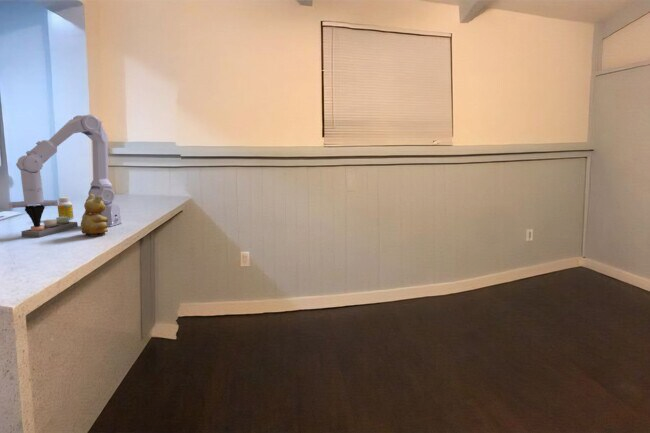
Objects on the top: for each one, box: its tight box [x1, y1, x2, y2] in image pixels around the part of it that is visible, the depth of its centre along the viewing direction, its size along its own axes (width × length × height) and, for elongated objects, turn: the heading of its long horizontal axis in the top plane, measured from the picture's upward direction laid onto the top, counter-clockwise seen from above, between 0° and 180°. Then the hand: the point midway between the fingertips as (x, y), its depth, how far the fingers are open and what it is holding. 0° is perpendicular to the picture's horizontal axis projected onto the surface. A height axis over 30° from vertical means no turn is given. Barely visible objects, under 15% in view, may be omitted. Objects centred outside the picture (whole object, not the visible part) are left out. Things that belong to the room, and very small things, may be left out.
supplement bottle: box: [57, 196, 74, 221], centre depth 174 cm, size 5×5×10 cm
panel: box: [20, 221, 79, 238], centre depth 151 cm, size 7×19×2 cm, turn 173°
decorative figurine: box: [80, 194, 109, 237], centre depth 144 cm, size 10×8×15 cm
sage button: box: [55, 216, 70, 224], centre depth 156 cm, size 4×4×2 cm
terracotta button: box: [30, 224, 44, 231], centre depth 145 cm, size 4×4×2 cm
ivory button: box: [43, 218, 57, 227], centre depth 150 cm, size 4×4×2 cm
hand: (37, 226), depth 145 cm, fingers closed, pressing on terracotta button
